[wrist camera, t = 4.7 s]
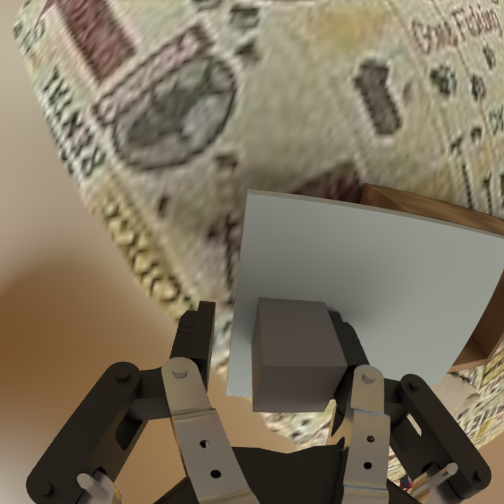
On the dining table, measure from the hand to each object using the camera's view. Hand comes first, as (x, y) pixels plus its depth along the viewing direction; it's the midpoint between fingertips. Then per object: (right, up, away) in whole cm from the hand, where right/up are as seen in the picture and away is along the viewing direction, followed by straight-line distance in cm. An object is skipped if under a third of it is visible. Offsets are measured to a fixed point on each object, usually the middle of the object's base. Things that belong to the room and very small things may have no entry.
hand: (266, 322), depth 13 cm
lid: (+6, 0, +1) cm, 7 cm away
